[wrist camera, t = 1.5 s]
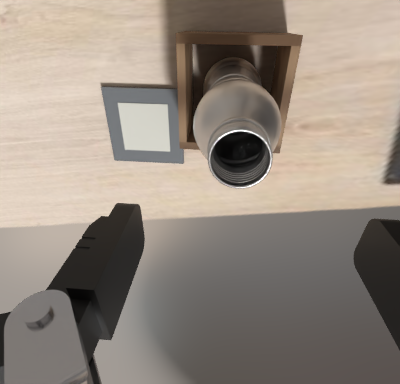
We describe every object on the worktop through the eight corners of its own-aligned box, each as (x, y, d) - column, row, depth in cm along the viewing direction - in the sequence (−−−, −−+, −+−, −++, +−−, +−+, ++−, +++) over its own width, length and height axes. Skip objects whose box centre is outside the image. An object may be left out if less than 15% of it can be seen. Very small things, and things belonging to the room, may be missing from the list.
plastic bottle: (250, 44, 28) (286, 75, 12) (265, 103, 32) (310, 193, 15) (196, 67, 30) (160, 123, 13) (215, 121, 33) (206, 219, 17)
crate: (185, 31, 28) (175, 33, 23) (287, 32, 28) (302, 35, 22) (186, 128, 34) (179, 148, 29) (270, 132, 34) (279, 153, 28)
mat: (102, 86, 32) (100, 87, 32) (182, 89, 32) (181, 89, 31) (115, 159, 38) (114, 160, 37) (183, 162, 37) (183, 163, 37)
